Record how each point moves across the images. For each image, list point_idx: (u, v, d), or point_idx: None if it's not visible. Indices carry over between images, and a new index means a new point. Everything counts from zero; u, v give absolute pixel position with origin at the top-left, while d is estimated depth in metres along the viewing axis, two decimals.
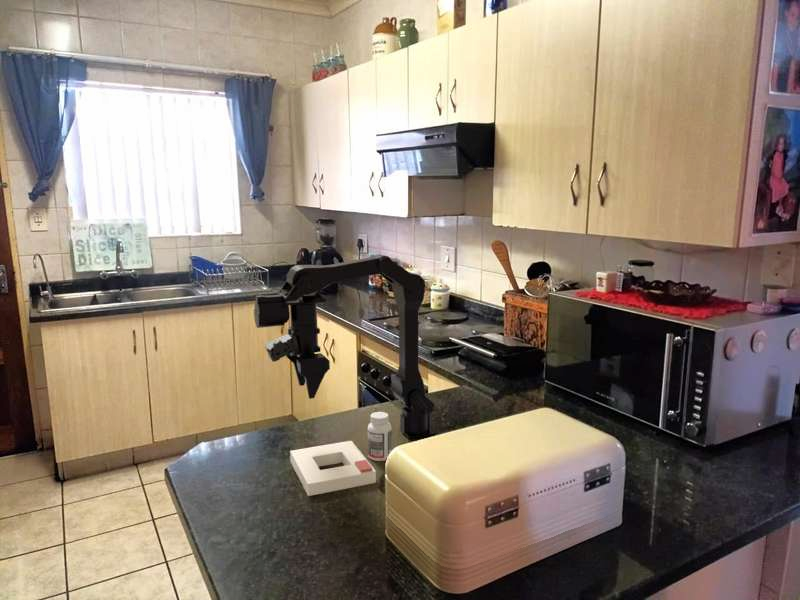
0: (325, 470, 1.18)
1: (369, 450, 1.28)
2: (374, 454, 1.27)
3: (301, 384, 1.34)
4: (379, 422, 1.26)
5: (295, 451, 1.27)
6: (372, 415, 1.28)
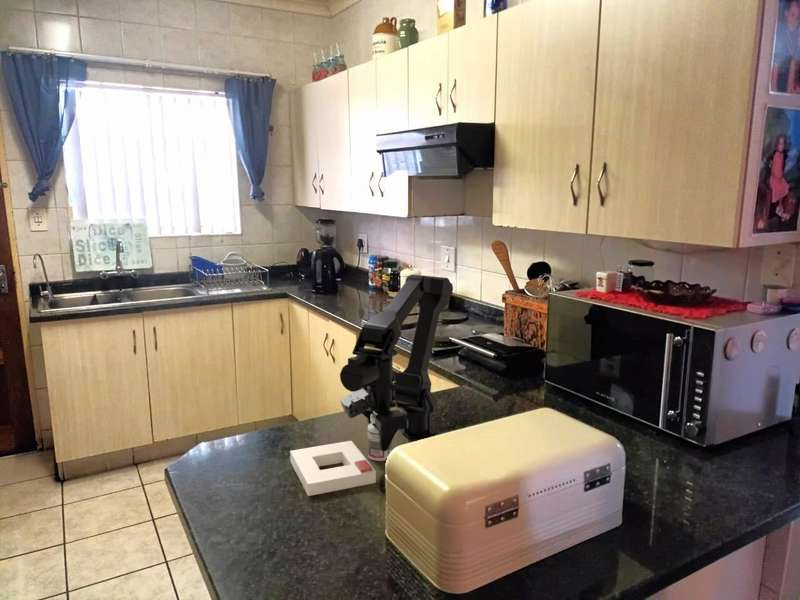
0: (325, 470, 1.18)
1: (369, 450, 1.28)
2: (374, 454, 1.27)
3: None
4: None
5: (295, 451, 1.27)
6: (372, 415, 1.28)
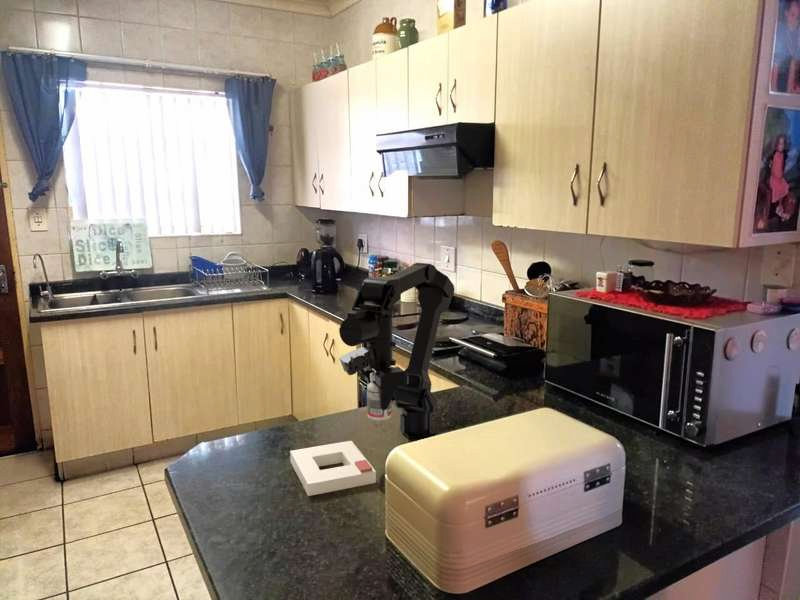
0: (325, 470, 1.18)
1: (368, 409, 1.26)
2: (374, 414, 1.26)
3: None
4: None
5: (295, 451, 1.27)
6: (372, 374, 1.26)
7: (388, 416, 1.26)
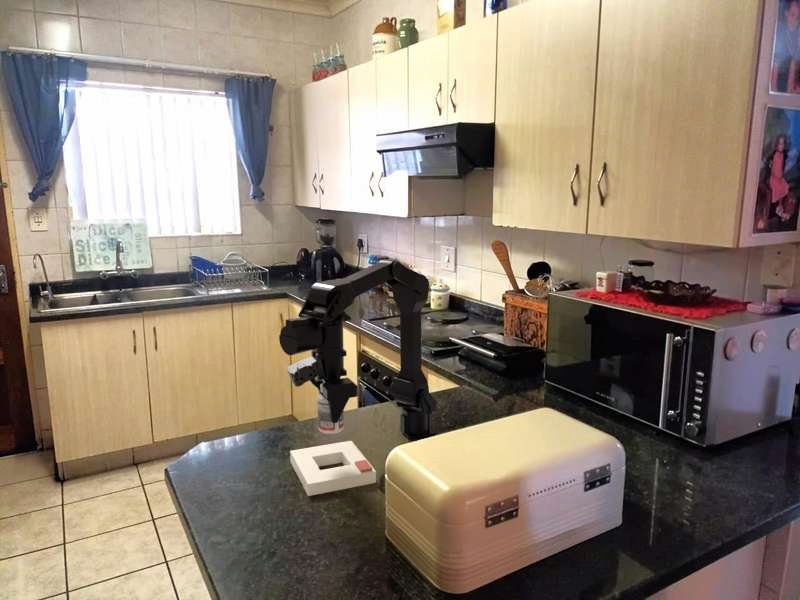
0: (325, 470, 1.18)
1: (319, 422, 1.19)
2: (324, 427, 1.18)
3: None
4: None
5: (295, 451, 1.27)
6: (322, 384, 1.19)
7: (340, 429, 1.19)
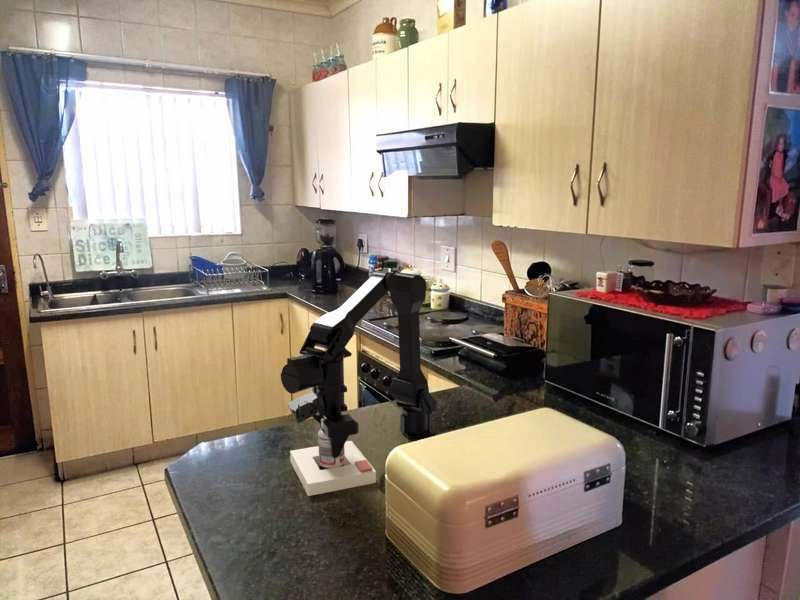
0: (325, 470, 1.18)
1: (320, 456, 1.21)
2: (325, 461, 1.20)
3: None
4: None
5: (295, 451, 1.27)
6: (323, 419, 1.20)
7: (340, 463, 1.21)
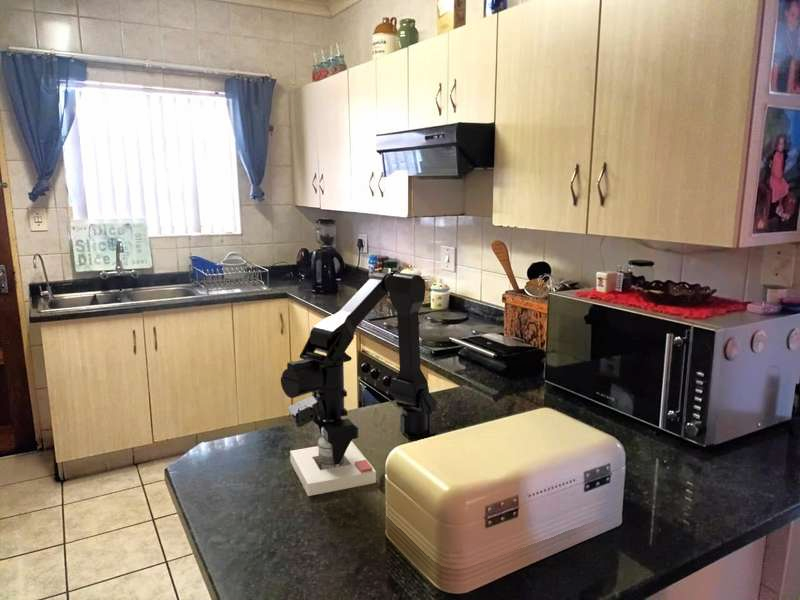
0: (325, 470, 1.18)
1: (320, 465, 1.21)
2: None
3: None
4: None
5: (295, 451, 1.27)
6: None
7: None
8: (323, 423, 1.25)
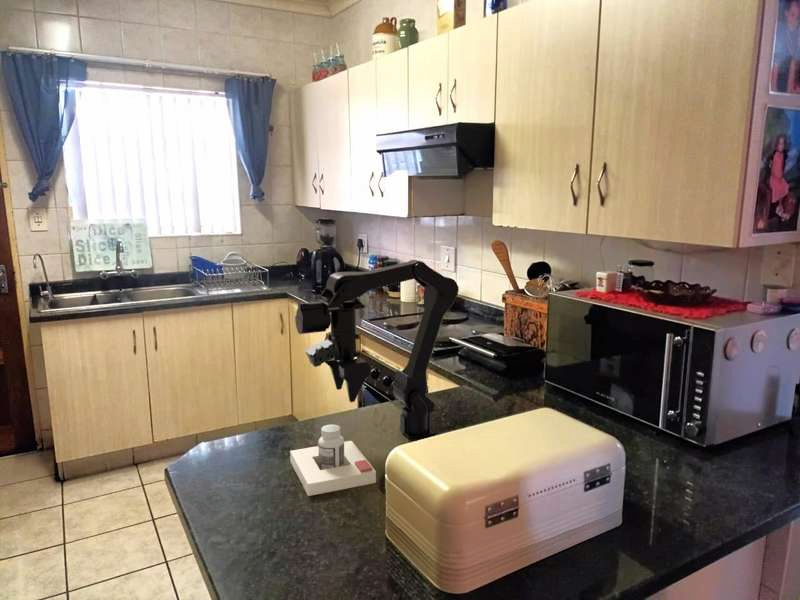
0: (325, 470, 1.18)
1: (320, 465, 1.21)
2: None
3: (338, 388, 1.37)
4: (330, 435, 1.19)
5: (295, 451, 1.27)
6: (323, 428, 1.21)
7: None
8: (336, 365, 1.36)
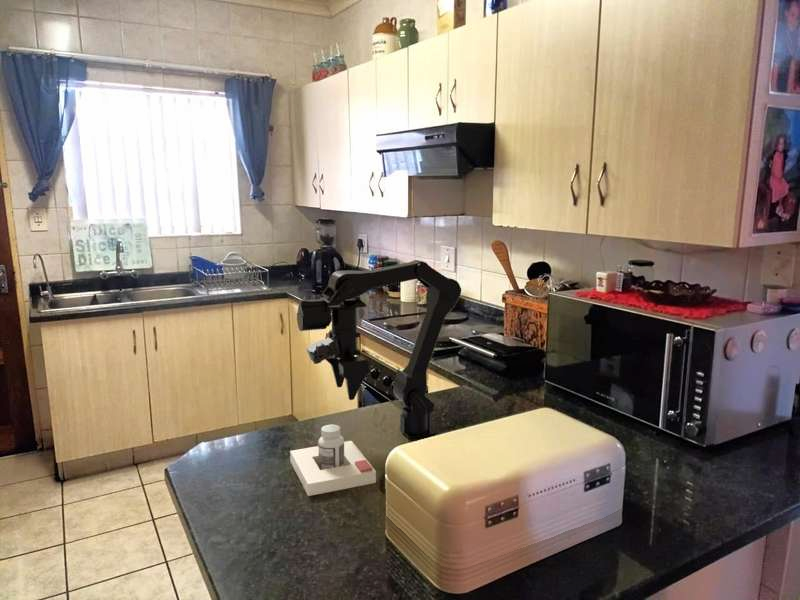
0: (325, 470, 1.18)
1: (320, 465, 1.21)
2: None
3: (339, 386, 1.38)
4: (330, 435, 1.19)
5: (295, 451, 1.27)
6: (323, 428, 1.21)
7: None
8: (337, 363, 1.37)
